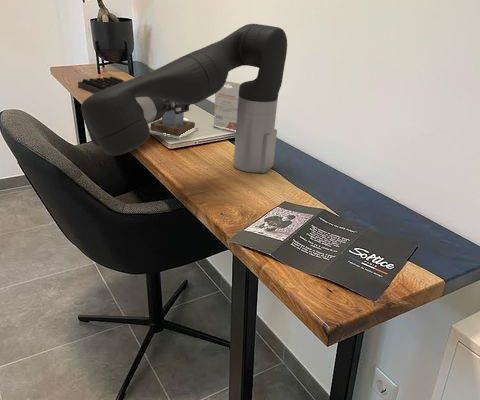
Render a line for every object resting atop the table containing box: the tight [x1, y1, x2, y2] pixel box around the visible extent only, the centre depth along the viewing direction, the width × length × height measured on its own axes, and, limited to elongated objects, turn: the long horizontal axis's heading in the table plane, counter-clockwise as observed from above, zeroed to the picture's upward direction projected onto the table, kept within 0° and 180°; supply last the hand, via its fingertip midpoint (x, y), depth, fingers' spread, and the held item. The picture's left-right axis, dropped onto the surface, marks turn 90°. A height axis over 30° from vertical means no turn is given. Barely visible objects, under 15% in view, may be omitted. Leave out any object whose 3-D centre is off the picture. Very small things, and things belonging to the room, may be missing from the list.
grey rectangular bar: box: [161, 101, 185, 127], centre depth 140 cm, size 4×4×14 cm
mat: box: [149, 128, 180, 140], centre depth 143 cm, size 11×12×1 cm
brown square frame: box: [150, 118, 196, 136], centre depth 143 cm, size 9×9×2 cm
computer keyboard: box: [77, 76, 126, 94], centre depth 175 cm, size 45×16×4 cm, turn 46°
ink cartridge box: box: [213, 80, 241, 130], centre depth 147 cm, size 9×5×15 cm, turn 62°
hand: (176, 99), depth 141 cm, fingers open, 8 cm apart
